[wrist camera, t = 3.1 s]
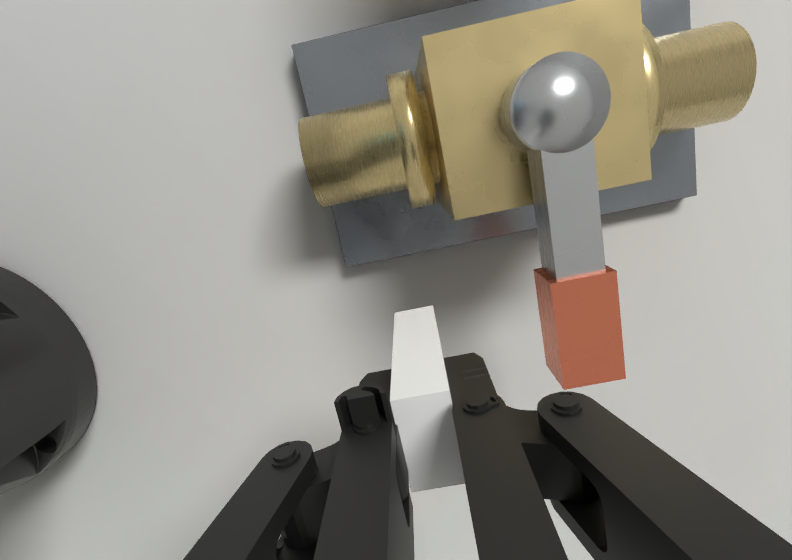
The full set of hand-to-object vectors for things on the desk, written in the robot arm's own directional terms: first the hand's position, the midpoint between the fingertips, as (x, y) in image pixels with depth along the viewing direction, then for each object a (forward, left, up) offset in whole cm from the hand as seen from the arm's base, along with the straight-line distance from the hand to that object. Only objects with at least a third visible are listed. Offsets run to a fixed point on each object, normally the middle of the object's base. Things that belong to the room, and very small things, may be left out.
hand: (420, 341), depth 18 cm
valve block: (+6, +8, -10) cm, 14 cm away
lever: (+6, +3, -2) cm, 7 cm away
